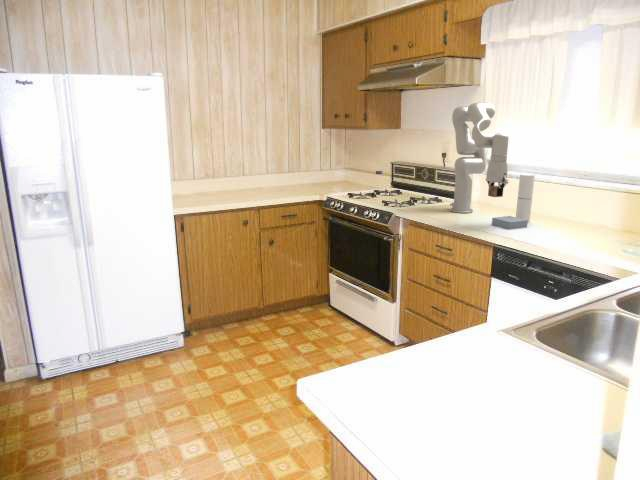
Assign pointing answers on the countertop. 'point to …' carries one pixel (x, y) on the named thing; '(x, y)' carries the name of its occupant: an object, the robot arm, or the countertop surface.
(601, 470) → the countertop surface
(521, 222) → the grey base block
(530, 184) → the cylindrical container
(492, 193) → the walnut cube
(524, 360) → the countertop surface
